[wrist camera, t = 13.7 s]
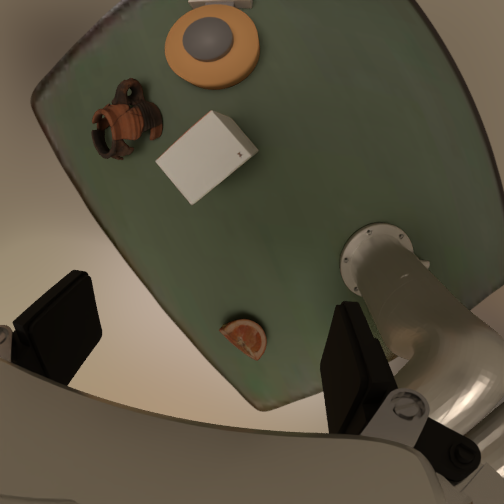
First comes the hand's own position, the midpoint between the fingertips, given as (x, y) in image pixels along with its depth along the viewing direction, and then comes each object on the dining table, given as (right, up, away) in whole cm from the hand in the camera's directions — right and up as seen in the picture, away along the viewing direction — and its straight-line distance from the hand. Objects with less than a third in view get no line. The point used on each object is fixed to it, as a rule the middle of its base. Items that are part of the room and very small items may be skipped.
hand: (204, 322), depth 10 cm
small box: (-2, +17, +30) cm, 34 cm away
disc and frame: (-3, +36, +22) cm, 42 cm away
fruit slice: (0, -11, +41) cm, 42 cm away
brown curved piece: (-16, +22, +29) cm, 40 cm away
